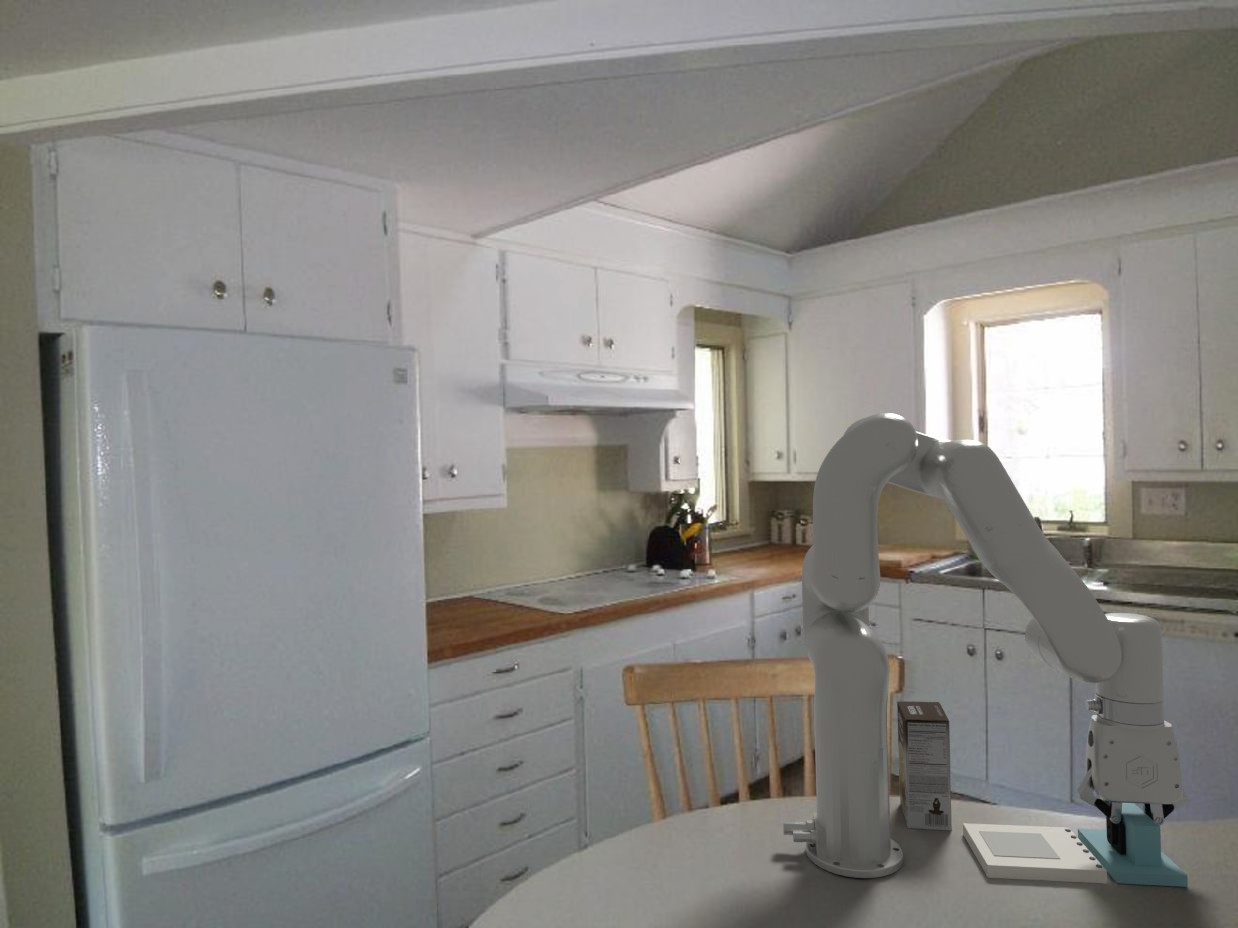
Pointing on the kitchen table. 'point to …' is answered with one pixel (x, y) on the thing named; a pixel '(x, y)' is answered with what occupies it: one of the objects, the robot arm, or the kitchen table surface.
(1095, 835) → the stub
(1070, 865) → the white notebook
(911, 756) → the coffee box
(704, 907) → the kitchen table surface
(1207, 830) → the kitchen table surface
